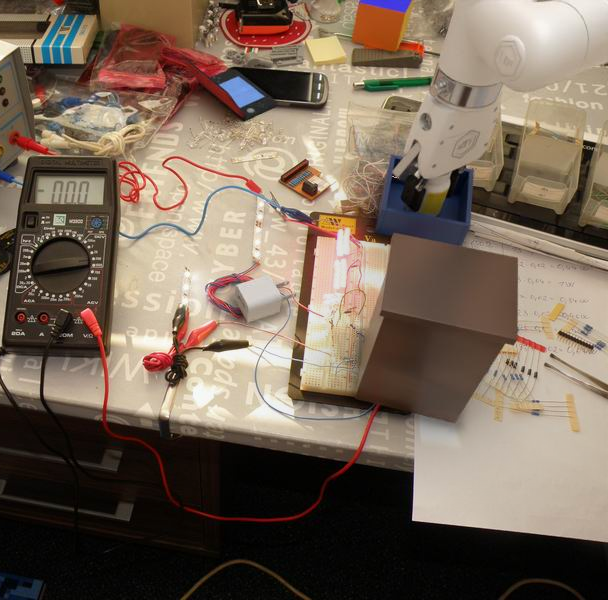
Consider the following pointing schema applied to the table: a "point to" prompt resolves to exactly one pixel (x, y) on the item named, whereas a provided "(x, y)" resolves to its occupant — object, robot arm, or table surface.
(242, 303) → the usb wall charger
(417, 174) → the supplement bottle
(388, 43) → the cube
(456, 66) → the robot arm
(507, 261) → the walnut stand
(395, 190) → the parts bin
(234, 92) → the handheld console
